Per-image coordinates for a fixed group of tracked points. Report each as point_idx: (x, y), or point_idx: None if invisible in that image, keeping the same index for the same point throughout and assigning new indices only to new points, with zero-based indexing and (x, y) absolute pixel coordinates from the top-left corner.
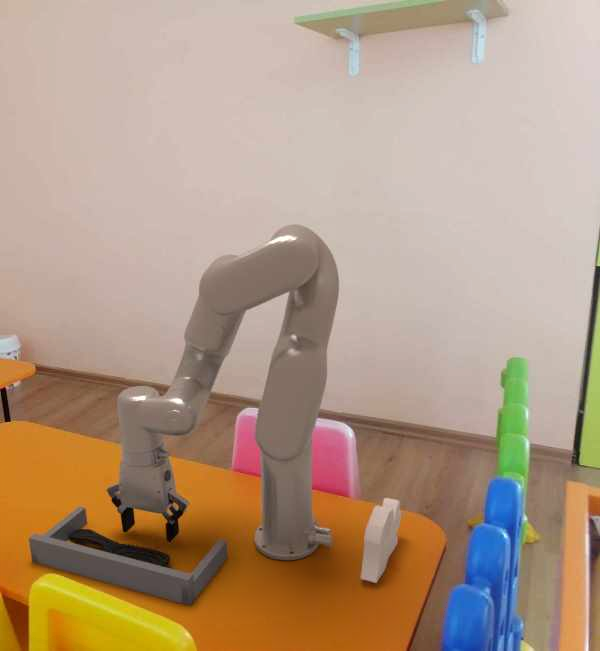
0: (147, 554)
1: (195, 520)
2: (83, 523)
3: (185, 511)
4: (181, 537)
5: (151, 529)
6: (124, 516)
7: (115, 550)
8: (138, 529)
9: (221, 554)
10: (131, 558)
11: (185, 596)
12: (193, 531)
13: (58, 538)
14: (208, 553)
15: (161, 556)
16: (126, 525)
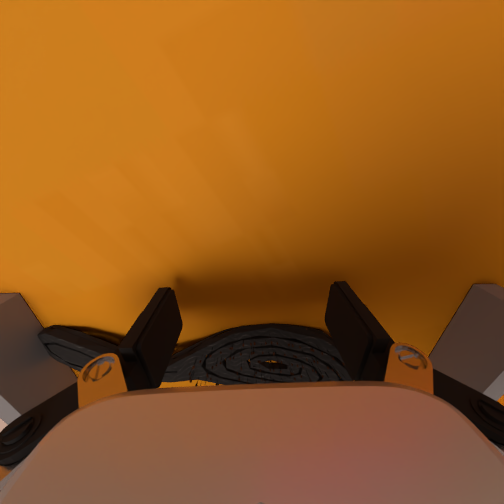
0: (286, 346)
1: (355, 142)
2: (18, 311)
3: (499, 405)
4: (337, 254)
5: (223, 252)
6: (158, 384)
7: (208, 364)
8: (185, 266)
9: None
10: (256, 360)
11: None
12: (367, 213)
13: (53, 392)
14: (500, 378)
15: None
16: (174, 341)
